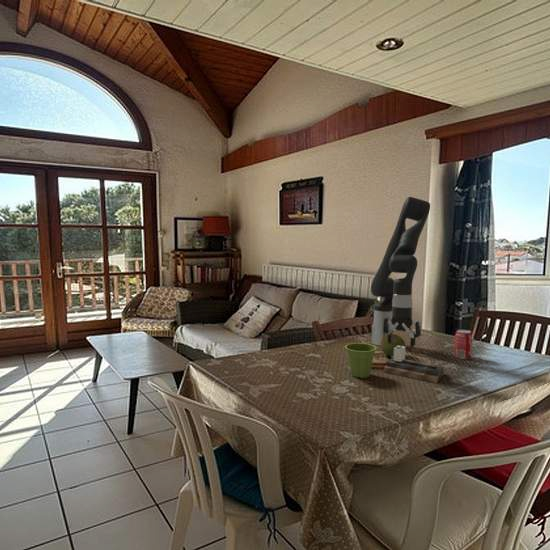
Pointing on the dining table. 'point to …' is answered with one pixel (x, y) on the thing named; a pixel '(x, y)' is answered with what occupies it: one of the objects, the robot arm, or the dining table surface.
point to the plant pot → (360, 358)
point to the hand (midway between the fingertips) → (401, 345)
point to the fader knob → (399, 353)
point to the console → (415, 370)
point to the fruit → (389, 348)
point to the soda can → (463, 344)
